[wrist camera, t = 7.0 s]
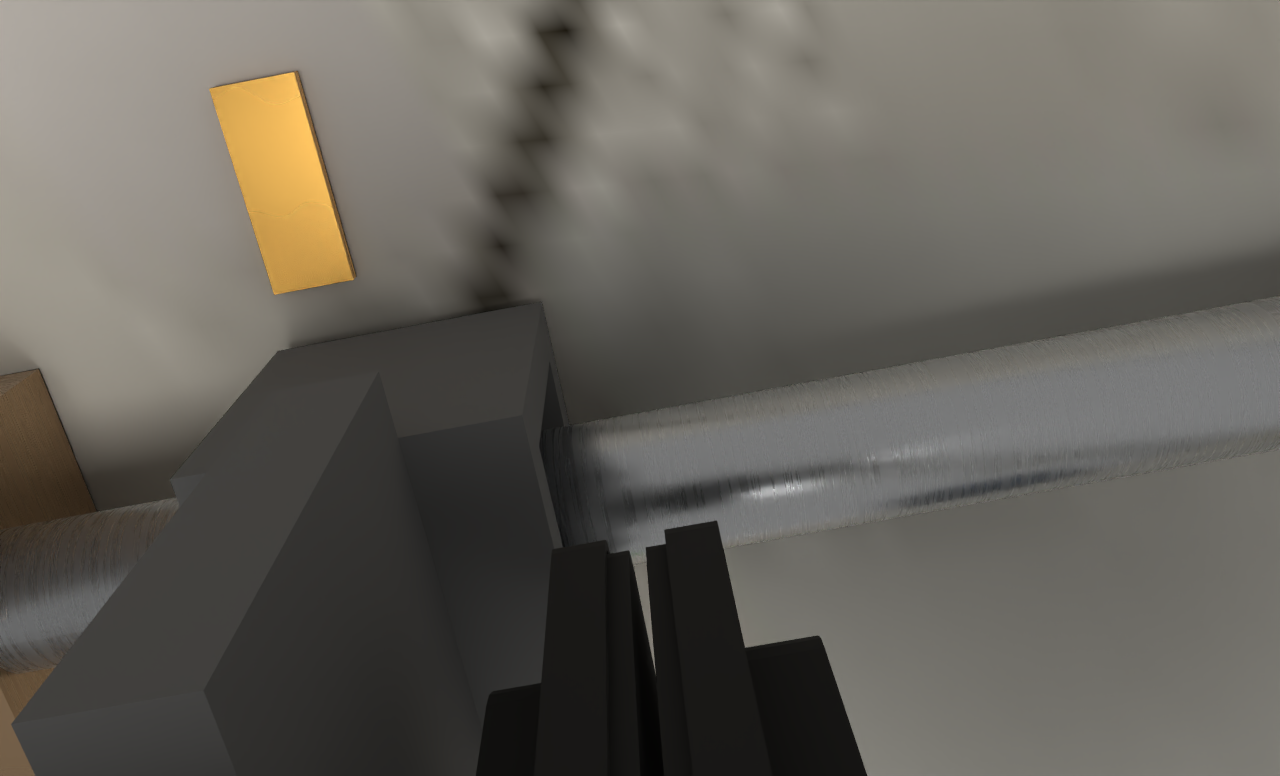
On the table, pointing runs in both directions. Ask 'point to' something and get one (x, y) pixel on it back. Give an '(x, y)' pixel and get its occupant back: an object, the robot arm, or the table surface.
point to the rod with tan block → (675, 426)
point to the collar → (331, 571)
